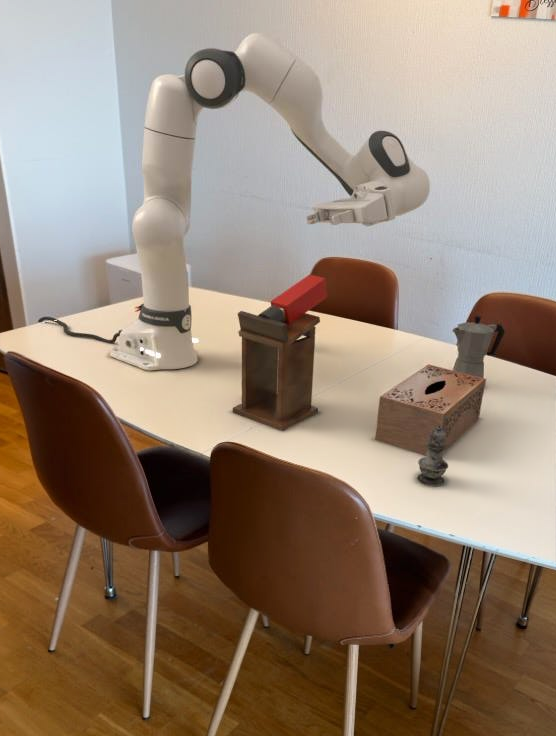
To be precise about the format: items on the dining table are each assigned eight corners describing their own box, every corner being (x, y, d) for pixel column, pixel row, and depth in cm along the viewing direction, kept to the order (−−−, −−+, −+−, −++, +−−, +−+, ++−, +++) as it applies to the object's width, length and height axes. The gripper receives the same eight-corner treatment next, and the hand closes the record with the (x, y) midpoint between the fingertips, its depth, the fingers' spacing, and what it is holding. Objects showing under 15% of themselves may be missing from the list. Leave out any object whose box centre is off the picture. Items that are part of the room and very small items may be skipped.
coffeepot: (453, 392, 182) (465, 322, 173) (435, 379, 189) (446, 311, 180) (504, 388, 188) (517, 320, 178) (485, 375, 195) (497, 309, 186)
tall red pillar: (310, 314, 164) (312, 273, 159) (325, 318, 162) (328, 277, 157) (255, 331, 149) (255, 287, 145) (271, 336, 148) (272, 292, 143)
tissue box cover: (422, 403, 174) (428, 364, 169) (478, 418, 168) (486, 378, 163) (375, 439, 154) (379, 396, 149) (436, 458, 149) (443, 414, 143)
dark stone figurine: (413, 472, 143) (421, 416, 136) (442, 473, 143) (451, 418, 137) (418, 486, 138) (427, 430, 131) (448, 487, 138) (458, 431, 132)
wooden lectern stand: (271, 395, 170) (273, 299, 158) (318, 412, 164) (324, 313, 152) (232, 412, 160) (232, 311, 148) (281, 430, 154) (284, 326, 142)
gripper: (340, 190, 166) (291, 205, 160) (395, 187, 151) (343, 205, 145) (346, 218, 169) (298, 234, 164) (400, 219, 154) (349, 237, 148)
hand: (319, 220), depth 154 cm, fingers open, 8 cm apart
